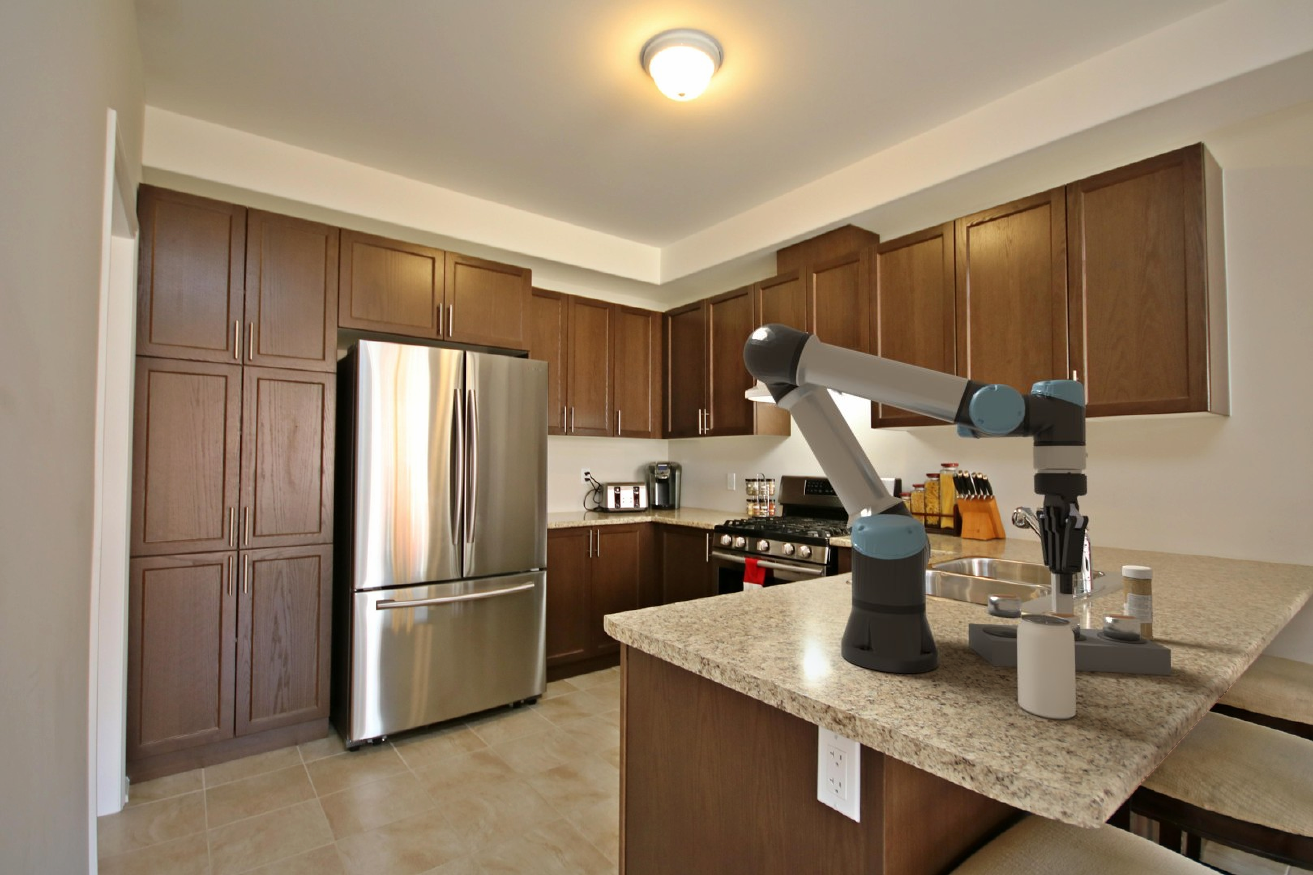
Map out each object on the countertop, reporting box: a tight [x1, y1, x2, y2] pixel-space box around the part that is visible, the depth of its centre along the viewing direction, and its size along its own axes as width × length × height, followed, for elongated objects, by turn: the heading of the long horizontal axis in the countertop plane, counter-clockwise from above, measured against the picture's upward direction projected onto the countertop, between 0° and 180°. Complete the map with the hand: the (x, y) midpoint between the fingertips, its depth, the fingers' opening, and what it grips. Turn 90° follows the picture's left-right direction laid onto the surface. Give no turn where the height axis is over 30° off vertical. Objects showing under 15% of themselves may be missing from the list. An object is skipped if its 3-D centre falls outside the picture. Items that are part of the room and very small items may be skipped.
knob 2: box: [1102, 613, 1141, 640], centre depth 102 cm, size 5×5×3 cm
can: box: [1017, 613, 1077, 721], centre depth 82 cm, size 6×6×12 cm
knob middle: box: [1044, 611, 1081, 638], centre depth 104 cm, size 5×5×3 cm
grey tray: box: [968, 622, 1172, 676], centre depth 104 cm, size 26×11×4 cm, turn 81°
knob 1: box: [987, 593, 1023, 620], centre depth 105 cm, size 5×5×3 cm
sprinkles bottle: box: [1121, 564, 1154, 641], centre depth 117 cm, size 5×5×14 cm
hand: (1062, 612), depth 104 cm, fingers closed
